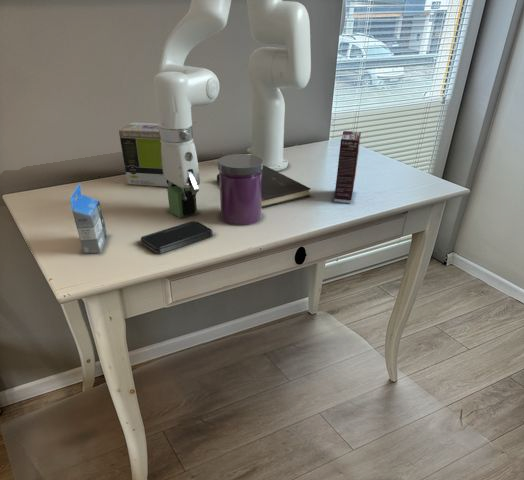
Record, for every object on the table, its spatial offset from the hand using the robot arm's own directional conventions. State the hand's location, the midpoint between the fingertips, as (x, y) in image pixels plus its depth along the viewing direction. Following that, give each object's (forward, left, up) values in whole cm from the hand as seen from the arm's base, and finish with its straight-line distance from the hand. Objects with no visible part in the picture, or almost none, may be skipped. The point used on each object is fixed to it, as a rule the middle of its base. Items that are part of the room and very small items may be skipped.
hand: (183, 209), depth 124 cm
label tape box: (+4, -25, -1) cm, 25 cm away
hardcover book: (-1, +26, -1) cm, 26 cm away
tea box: (-24, +6, -1) cm, 25 cm away
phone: (+12, -9, -1) cm, 15 cm away
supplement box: (+17, +40, -1) cm, 43 cm away
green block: (0, 0, -1) cm, 1 cm away
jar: (+11, +10, -1) cm, 15 cm away
